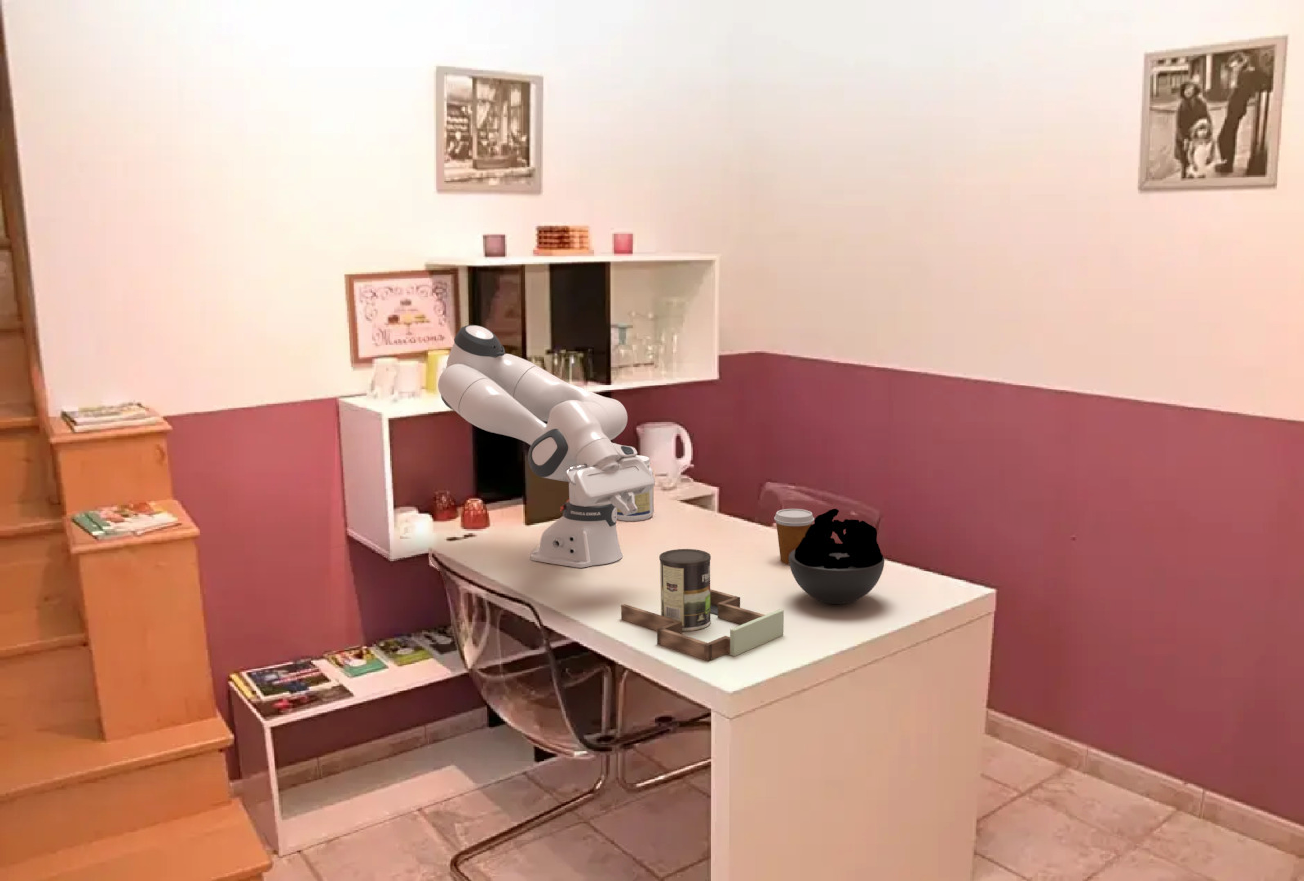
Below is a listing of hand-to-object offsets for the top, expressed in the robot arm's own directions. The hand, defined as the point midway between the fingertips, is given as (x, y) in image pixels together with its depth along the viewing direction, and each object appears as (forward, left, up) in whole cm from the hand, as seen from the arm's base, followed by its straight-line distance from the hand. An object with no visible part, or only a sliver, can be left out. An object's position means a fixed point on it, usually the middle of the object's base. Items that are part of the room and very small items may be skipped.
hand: (631, 513), depth 222 cm
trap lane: (+18, -10, -20) cm, 28 cm away
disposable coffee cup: (+27, +40, -20) cm, 52 cm away
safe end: (+31, -16, -20) cm, 40 cm away
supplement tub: (-25, +71, -20) cm, 78 cm away
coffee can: (+14, -8, -20) cm, 26 cm away
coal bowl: (+41, +13, -20) cm, 48 cm away
